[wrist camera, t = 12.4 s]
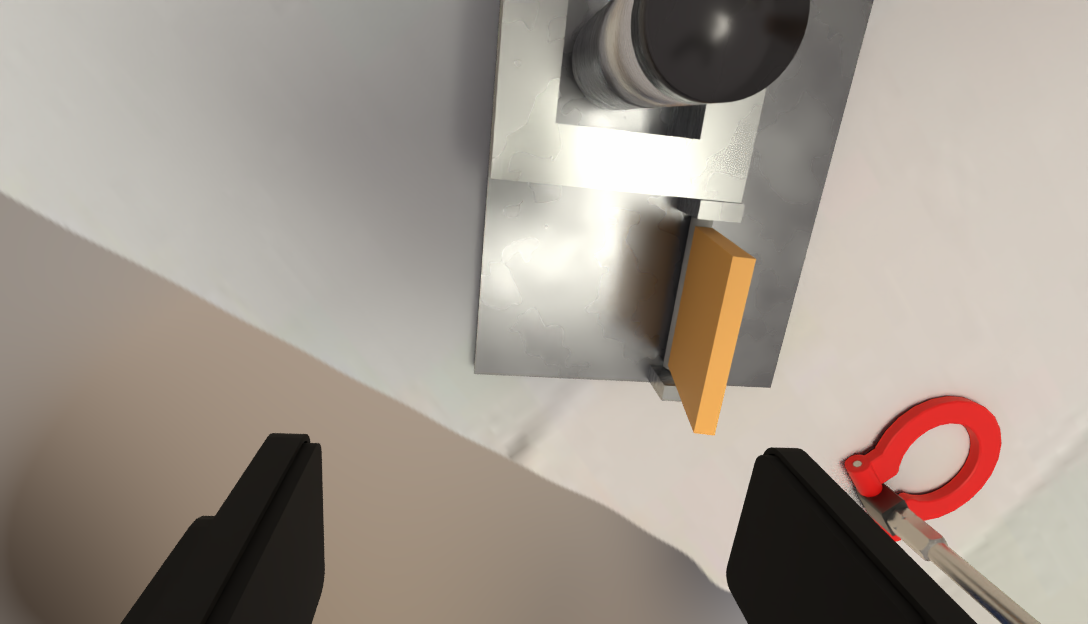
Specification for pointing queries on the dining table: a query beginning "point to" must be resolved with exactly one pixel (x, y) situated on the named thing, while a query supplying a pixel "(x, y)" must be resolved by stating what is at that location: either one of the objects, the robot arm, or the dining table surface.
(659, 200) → the plate
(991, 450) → the tow hook
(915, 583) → the robot arm
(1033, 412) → the dining table surface
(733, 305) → the tab
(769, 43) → the pin
